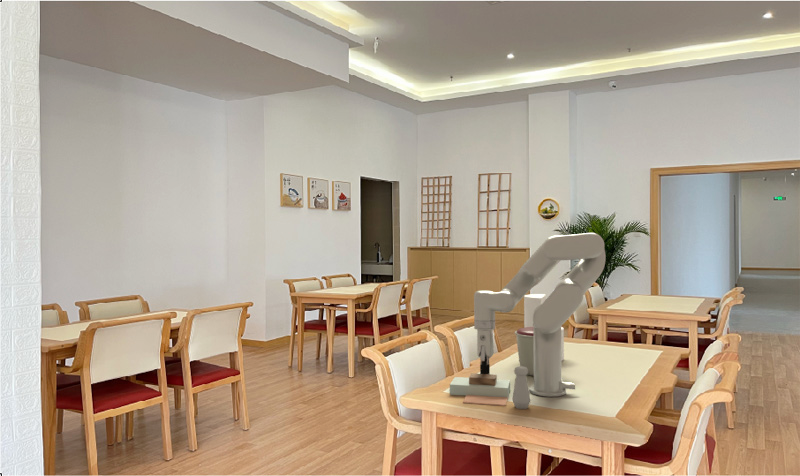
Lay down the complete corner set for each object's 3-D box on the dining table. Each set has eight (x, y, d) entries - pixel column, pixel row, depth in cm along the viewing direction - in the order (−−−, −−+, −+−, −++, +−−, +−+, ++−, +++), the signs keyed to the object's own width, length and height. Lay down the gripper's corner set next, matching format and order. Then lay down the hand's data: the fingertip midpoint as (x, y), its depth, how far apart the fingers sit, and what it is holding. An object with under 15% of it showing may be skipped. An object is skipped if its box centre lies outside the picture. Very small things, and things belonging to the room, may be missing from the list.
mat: (507, 398, 194) (507, 397, 194) (505, 406, 186) (505, 404, 186) (466, 395, 198) (466, 394, 198) (462, 403, 189) (462, 401, 189)
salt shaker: (533, 409, 182) (533, 368, 182) (517, 410, 181) (517, 369, 181) (524, 403, 188) (524, 364, 188) (509, 405, 186) (508, 365, 186)
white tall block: (521, 360, 252) (521, 297, 252) (527, 353, 268) (527, 293, 268) (562, 363, 246) (561, 298, 246) (565, 355, 262) (565, 294, 262)
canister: (522, 366, 241) (522, 316, 241) (566, 371, 232) (565, 319, 232) (508, 375, 226) (508, 322, 225) (554, 381, 216) (554, 326, 216)
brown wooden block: (496, 381, 203) (496, 374, 203) (495, 385, 198) (494, 378, 198) (471, 379, 206) (471, 373, 206) (469, 384, 200) (469, 377, 200)
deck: (510, 389, 205) (510, 380, 205) (507, 398, 194) (507, 388, 194) (454, 386, 210) (454, 376, 210) (449, 394, 200) (449, 384, 200)
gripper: (492, 328, 199) (492, 380, 199) (497, 322, 214) (497, 371, 214) (471, 327, 201) (471, 379, 201) (477, 321, 216) (477, 369, 216)
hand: (484, 375), depth 207 cm, fingers closed
